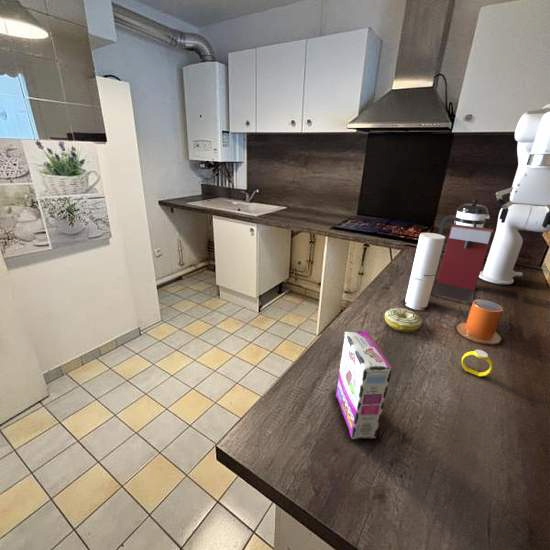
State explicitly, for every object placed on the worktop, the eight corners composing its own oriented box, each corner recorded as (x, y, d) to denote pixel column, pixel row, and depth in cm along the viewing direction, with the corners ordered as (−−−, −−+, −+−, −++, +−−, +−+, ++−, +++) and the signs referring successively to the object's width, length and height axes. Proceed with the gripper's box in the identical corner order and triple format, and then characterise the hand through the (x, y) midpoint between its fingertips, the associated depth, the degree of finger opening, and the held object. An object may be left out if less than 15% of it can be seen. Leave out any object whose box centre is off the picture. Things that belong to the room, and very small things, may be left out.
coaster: (484, 323, 91) (484, 322, 91) (510, 345, 81) (510, 343, 81) (449, 323, 91) (449, 321, 91) (470, 344, 81) (471, 343, 81)
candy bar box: (378, 439, 54) (394, 368, 47) (351, 440, 53) (364, 369, 47) (357, 392, 64) (368, 329, 57) (335, 394, 63) (343, 330, 57)
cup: (465, 322, 91) (473, 297, 87) (493, 330, 87) (503, 304, 83) (463, 333, 85) (472, 306, 82) (493, 342, 81) (503, 314, 78)
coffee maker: (438, 280, 122) (452, 224, 113) (474, 288, 115) (493, 229, 106) (430, 295, 109) (447, 232, 100) (471, 305, 102) (492, 239, 93)
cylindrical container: (429, 311, 98) (448, 239, 88) (407, 308, 99) (423, 237, 89) (423, 301, 104) (440, 233, 95) (402, 299, 106) (417, 232, 96)
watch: (458, 370, 71) (464, 350, 69) (459, 364, 73) (466, 345, 71) (487, 381, 68) (495, 361, 65) (488, 375, 70) (496, 355, 68)
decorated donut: (425, 324, 90) (428, 313, 89) (413, 339, 83) (416, 327, 81) (392, 312, 97) (394, 302, 95) (378, 324, 89) (380, 314, 88)
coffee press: (468, 255, 154) (485, 197, 143) (481, 265, 140) (501, 202, 128) (433, 252, 158) (447, 195, 146) (441, 262, 143) (457, 200, 132)
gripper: (585, 163, 77) (559, 226, 84) (505, 160, 86) (487, 218, 93) (592, 163, 71) (564, 231, 78) (505, 161, 80) (487, 222, 87)
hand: (522, 224), depth 85 cm, fingers open, 9 cm apart
